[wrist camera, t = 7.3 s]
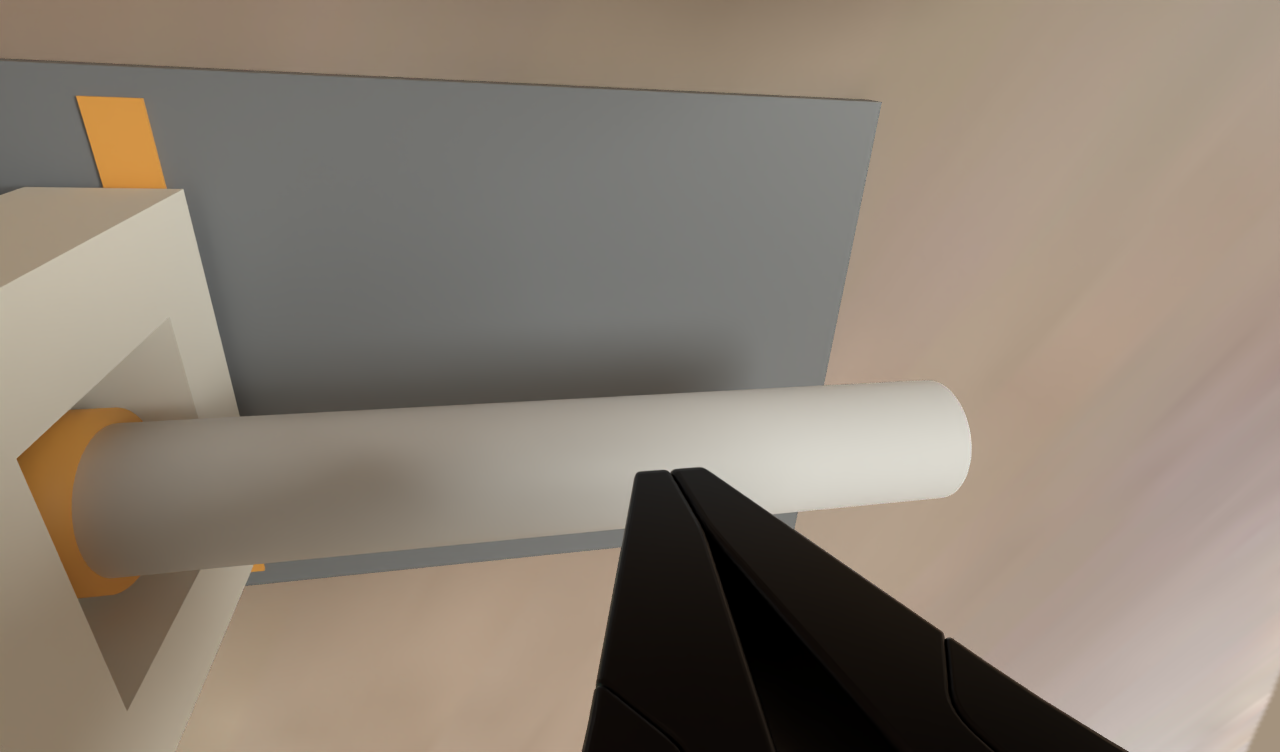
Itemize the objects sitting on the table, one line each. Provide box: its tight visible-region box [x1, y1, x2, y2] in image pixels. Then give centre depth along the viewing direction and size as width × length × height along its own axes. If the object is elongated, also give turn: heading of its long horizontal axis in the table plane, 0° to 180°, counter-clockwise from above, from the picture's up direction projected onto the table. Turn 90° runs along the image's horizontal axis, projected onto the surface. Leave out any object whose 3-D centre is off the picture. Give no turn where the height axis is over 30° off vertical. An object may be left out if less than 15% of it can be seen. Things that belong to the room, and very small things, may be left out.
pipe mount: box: [0, 58, 972, 599], centre depth 12 cm, size 24×12×8 cm, turn 86°
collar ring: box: [0, 187, 253, 752], centre depth 10 cm, size 2×8×8 cm, turn 177°
